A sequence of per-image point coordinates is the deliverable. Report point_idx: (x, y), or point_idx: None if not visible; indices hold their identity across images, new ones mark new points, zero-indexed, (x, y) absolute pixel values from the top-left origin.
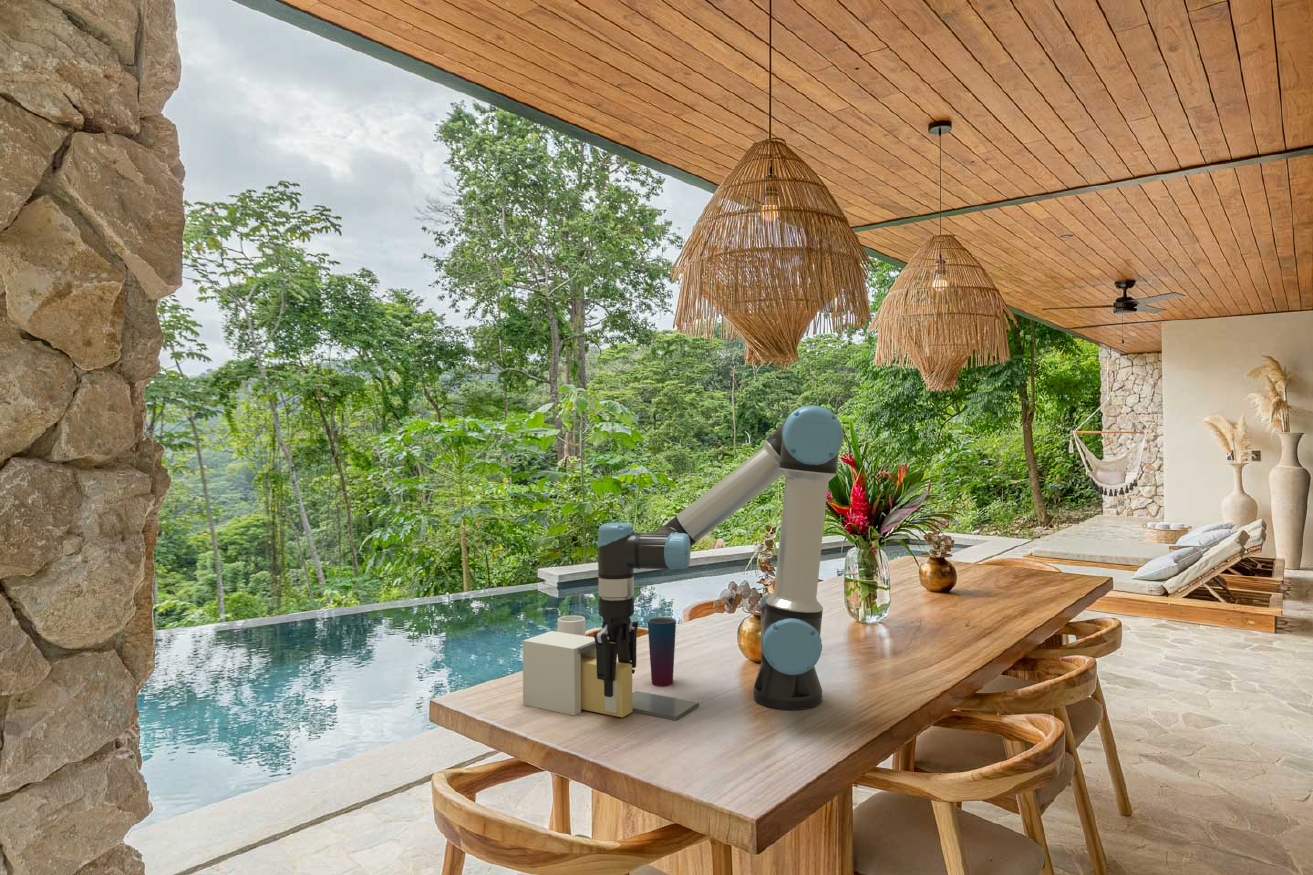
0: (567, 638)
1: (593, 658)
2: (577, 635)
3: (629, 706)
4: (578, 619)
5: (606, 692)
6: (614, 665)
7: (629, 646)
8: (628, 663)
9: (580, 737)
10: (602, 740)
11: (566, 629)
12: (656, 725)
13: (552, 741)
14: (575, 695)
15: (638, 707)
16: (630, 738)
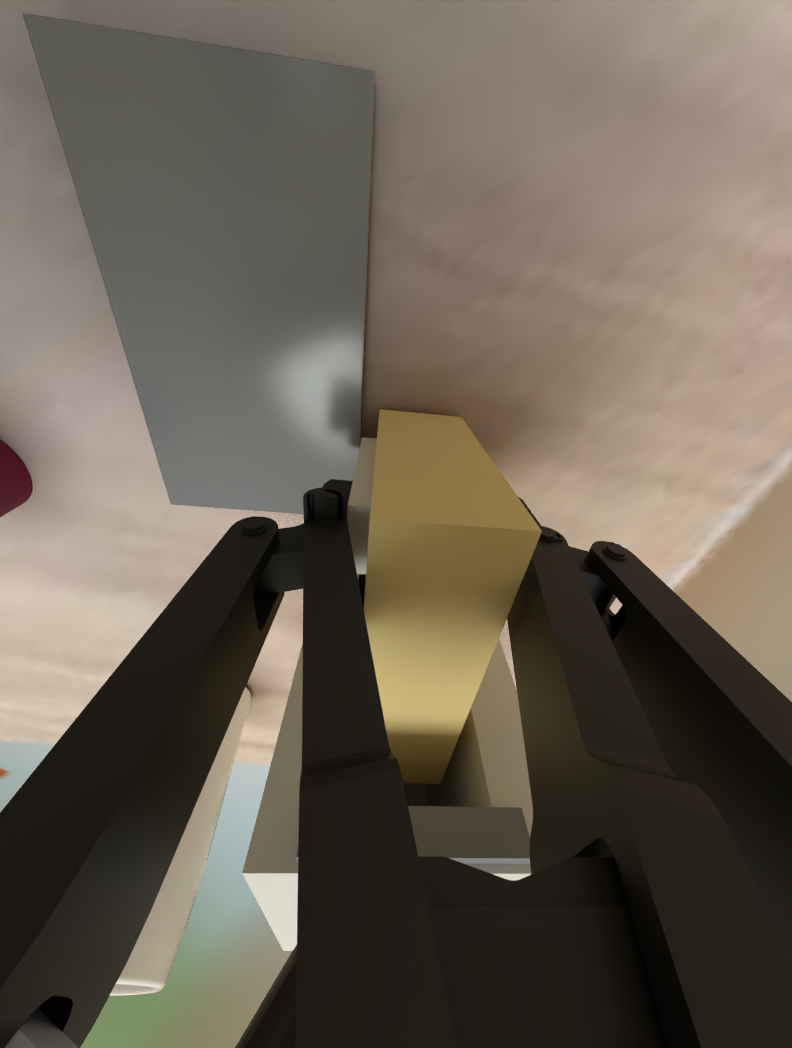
0: None
1: None
2: (278, 917)
3: (405, 419)
4: None
5: None
6: (565, 596)
7: (212, 696)
8: (344, 556)
9: (672, 467)
10: (708, 375)
11: (174, 923)
12: (488, 195)
13: (707, 525)
14: None
15: (342, 398)
16: (688, 254)
